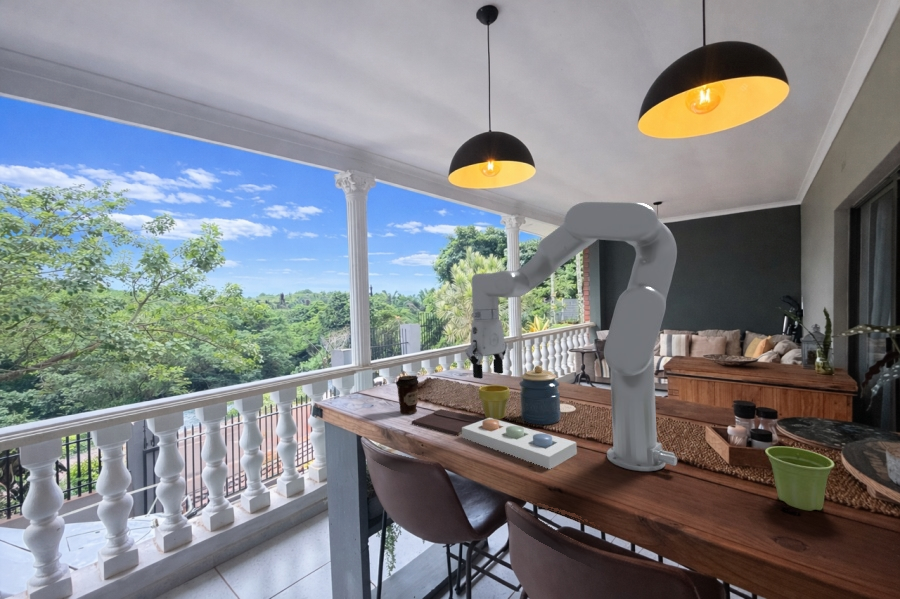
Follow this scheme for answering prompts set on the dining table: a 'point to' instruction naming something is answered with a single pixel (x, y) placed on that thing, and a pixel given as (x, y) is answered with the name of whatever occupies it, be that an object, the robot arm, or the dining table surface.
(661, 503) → the dining table surface
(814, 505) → the plant pot
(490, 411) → the plant pot
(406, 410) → the coffee cup
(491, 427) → the rust button
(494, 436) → the button panel
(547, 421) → the canister
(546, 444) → the slate button
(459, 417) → the notebook
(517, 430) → the sage button
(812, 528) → the dining table surface
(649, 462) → the robot arm
